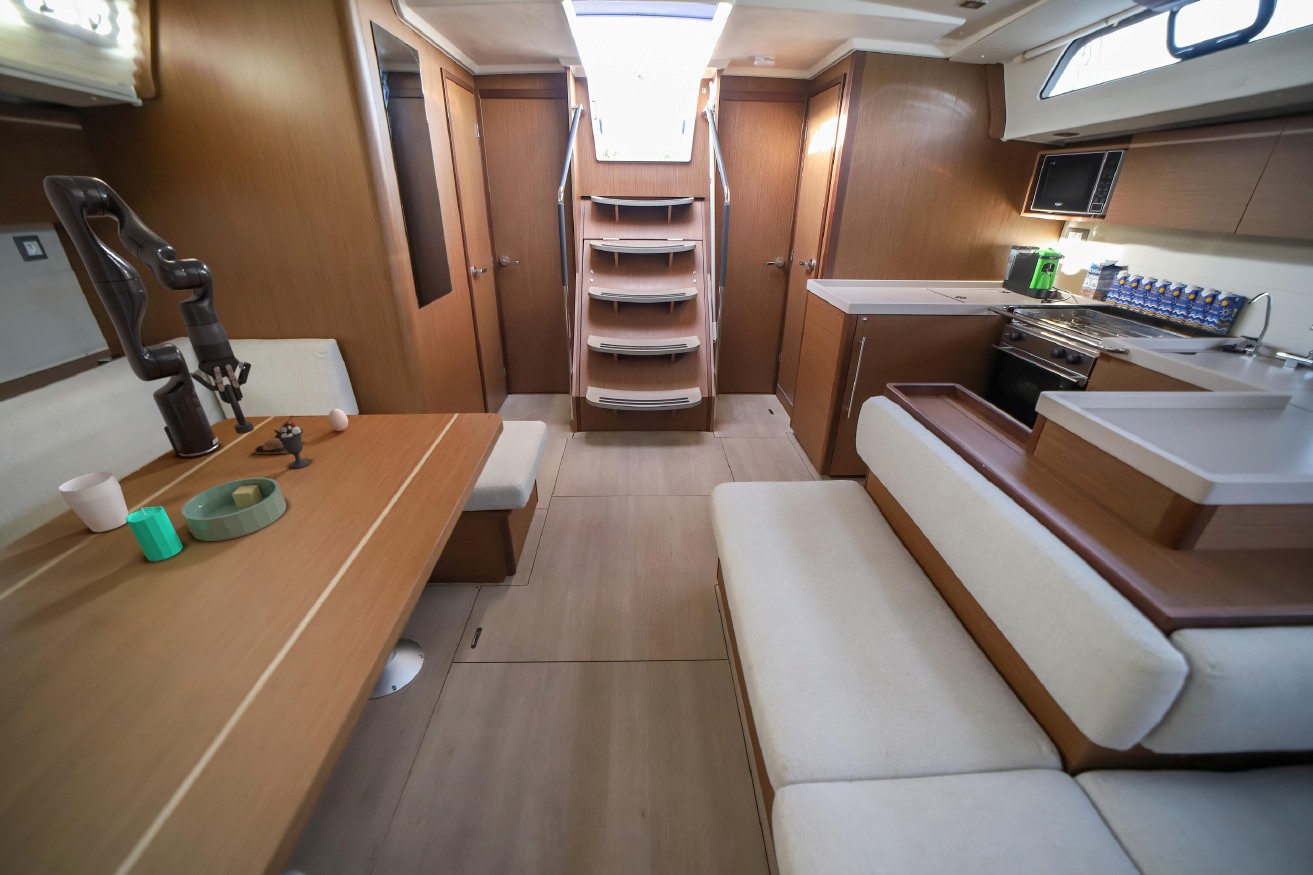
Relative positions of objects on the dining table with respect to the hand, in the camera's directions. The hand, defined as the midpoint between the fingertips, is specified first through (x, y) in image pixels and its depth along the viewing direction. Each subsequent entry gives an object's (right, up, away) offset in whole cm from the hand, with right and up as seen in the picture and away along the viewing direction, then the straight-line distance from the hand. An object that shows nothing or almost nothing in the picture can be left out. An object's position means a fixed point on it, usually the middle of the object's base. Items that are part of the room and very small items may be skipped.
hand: (233, 401), depth 138 cm
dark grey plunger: (0, -8, +4) cm, 9 cm away
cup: (-14, -31, -18) cm, 39 cm away
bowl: (+15, -30, -15) cm, 36 cm away
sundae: (+12, -18, +9) cm, 24 cm away
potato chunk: (+13, -27, -10) cm, 31 cm away
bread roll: (-1, -14, +18) cm, 23 cm away
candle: (+8, -36, -27) cm, 46 cm away
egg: (+11, -8, +30) cm, 33 cm away
